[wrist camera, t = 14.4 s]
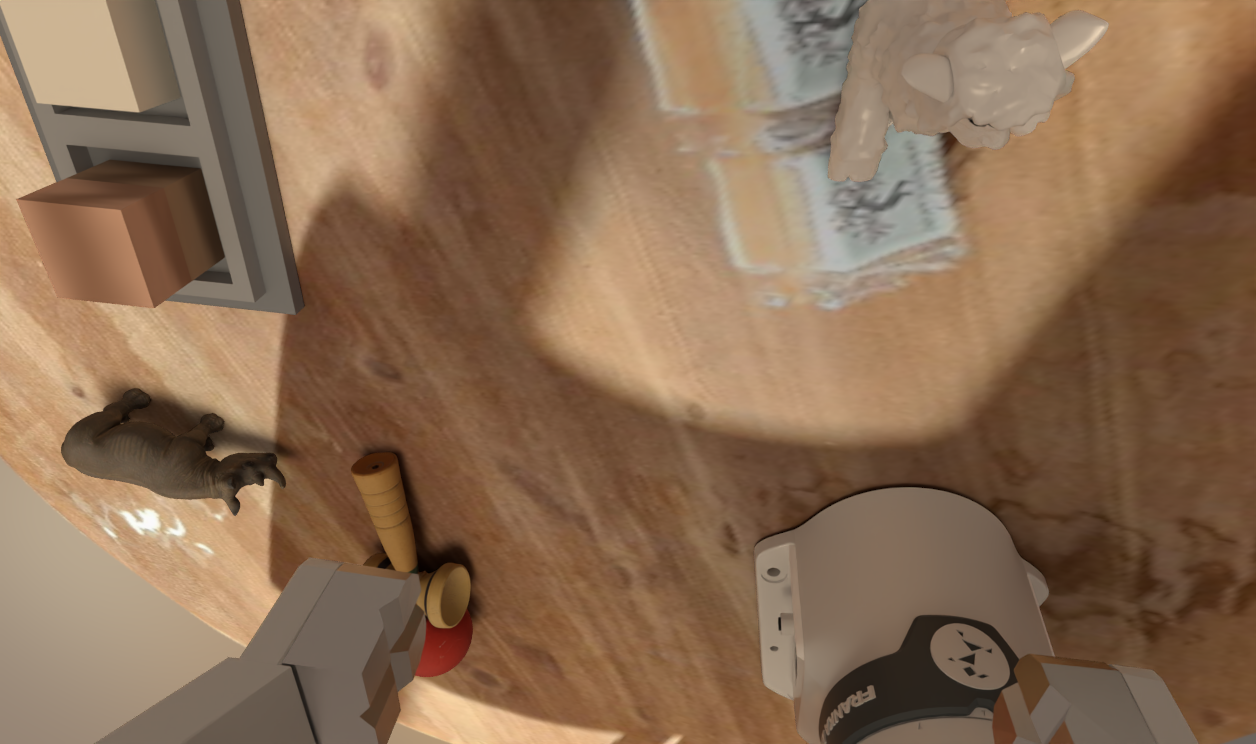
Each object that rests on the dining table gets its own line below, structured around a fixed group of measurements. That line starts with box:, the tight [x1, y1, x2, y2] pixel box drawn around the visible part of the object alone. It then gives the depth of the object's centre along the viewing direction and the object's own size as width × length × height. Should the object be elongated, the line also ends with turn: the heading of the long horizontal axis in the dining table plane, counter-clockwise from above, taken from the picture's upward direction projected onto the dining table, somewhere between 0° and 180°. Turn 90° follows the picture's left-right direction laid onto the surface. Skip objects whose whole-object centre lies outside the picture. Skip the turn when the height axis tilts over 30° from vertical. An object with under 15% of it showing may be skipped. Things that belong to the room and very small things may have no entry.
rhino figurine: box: [61, 389, 286, 516], centre depth 47 cm, size 4×14×6 cm, turn 73°
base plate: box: [0, 0, 304, 315], centre depth 36 cm, size 20×12×4 cm, turn 177°
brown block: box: [16, 160, 225, 308], centre depth 37 cm, size 5×5×6 cm
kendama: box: [351, 452, 473, 677], centre depth 51 cm, size 8×6×18 cm
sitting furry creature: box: [828, 0, 1109, 182], centre depth 27 cm, size 10×9×12 cm
